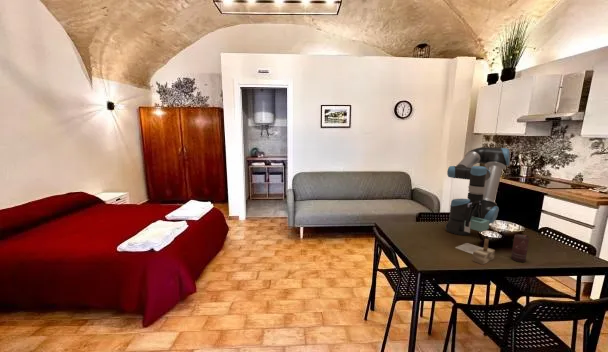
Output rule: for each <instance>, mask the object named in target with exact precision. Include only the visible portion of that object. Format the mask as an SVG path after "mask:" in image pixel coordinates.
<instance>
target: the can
mask: <svg viewBox="0 0 608 352" xmlns="http://www.w3.org/2000/svg"><path fill="white" fill-rule="evenodd" d="M529 243H530V237H529V235H527V234H522V233H515V234H514V237H513V242H512V250H511V260H513V261H516V262H519V263H525V262H526V261H527V255H528V254H527V253H528V247H529Z"/></svg>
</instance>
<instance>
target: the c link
mask: <svg viewBox="0 0 608 352" xmlns="http://www.w3.org/2000/svg"><path fill="white" fill-rule="evenodd" d="M470 221H471V226H470V230H474V231H477V232H481V233H482V232H484V231H486V230H489V228H490V223H489V222H490V221H489V220H485V219H481V218H477V217H473V216H472V218H471V220H470ZM464 227H465V223H464Z"/></svg>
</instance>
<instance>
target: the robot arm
mask: <svg viewBox="0 0 608 352" xmlns="http://www.w3.org/2000/svg"><path fill="white" fill-rule="evenodd" d="M510 155H511V154H510V149H509V148H507V147H505V148H504V147H487V146H482V147H477V148H473V149H471V150H469V151H468V152H467V153H465V155H464V157H463V159H462V160H460V161H459V162H458V163H457V164H456V166H455V165H450V166H449V167H447V168H448V169H447V173H446V174H447V176H448V178H451V179H460V180H469V182H468V186H467V187H468V192H467V198H453V199H451V201H450V207H449V208H450V209H449V217H448V221H447V223H446V224H445V227H444V228H445V229H446V230H447V231H446V230H445V231H446V232H448V231H449V232H448V233H450V232H451V233H450V234H453V233H454V235H457V234H458V235H459V236H469V235H471V229H470V226H471V221H470V220H471V218H472V216H473V217H477V218H481V219H485V220H489V221H490V222H489V224H493V223H494V222H496V219H497V217H498V214H499V212H500V208H499V206H498V205H497V203H496V201H495V200H496V197H497V194H498V193H497V192H498V188H499V184H500V182H501V181H500V180H501V176H502V172H503V170H505V169H506V167H507V166H510V162H511V160H510ZM476 164H484V166H481V165H476ZM464 223H465V227H464Z"/></svg>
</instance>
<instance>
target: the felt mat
mask: <svg viewBox="0 0 608 352" xmlns="http://www.w3.org/2000/svg"><path fill="white" fill-rule="evenodd" d="M454 248H455V249H456V250H459V251H461V252H465V253H468V254H470V255H473V252H475V251H477V250H479V249H481V248H482V246H478V245H474V244H472V243H469V242H465V243H462V244H461V245H457V246H455V247H454Z"/></svg>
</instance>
